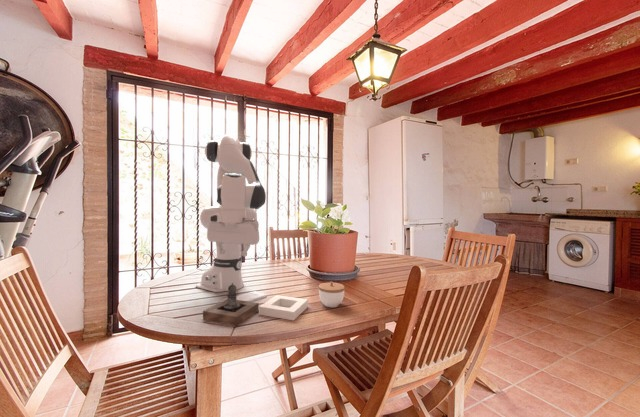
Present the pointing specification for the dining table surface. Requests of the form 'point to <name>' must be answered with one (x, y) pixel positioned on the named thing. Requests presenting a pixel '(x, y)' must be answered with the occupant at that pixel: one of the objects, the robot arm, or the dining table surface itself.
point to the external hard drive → (251, 296)
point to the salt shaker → (232, 300)
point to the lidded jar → (331, 294)
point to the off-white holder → (275, 309)
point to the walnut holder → (227, 317)
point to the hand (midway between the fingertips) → (232, 255)
